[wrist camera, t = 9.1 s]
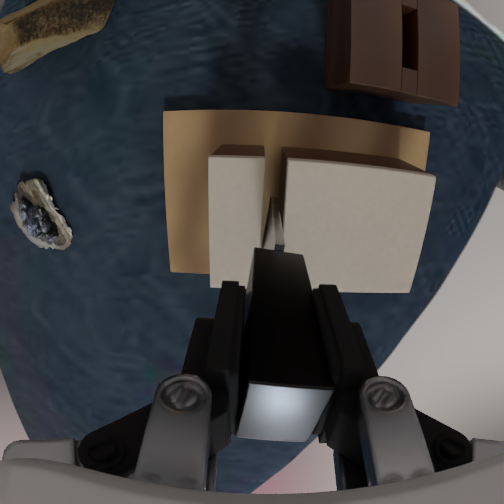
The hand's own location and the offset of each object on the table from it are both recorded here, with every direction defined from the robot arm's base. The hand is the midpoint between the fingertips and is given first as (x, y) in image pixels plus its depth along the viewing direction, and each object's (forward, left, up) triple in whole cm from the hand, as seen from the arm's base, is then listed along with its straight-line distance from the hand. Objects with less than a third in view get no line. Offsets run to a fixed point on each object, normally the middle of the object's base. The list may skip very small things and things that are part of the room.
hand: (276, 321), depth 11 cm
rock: (+18, -15, -15) cm, 28 cm away
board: (-2, 0, -15) cm, 15 cm away
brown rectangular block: (+2, 0, -14) cm, 14 cm away
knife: (0, 0, -10) cm, 10 cm away
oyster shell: (+21, +2, -15) cm, 26 cm away
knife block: (-7, -12, -15) cm, 21 cm away
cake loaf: (-5, 0, -14) cm, 15 cm away
